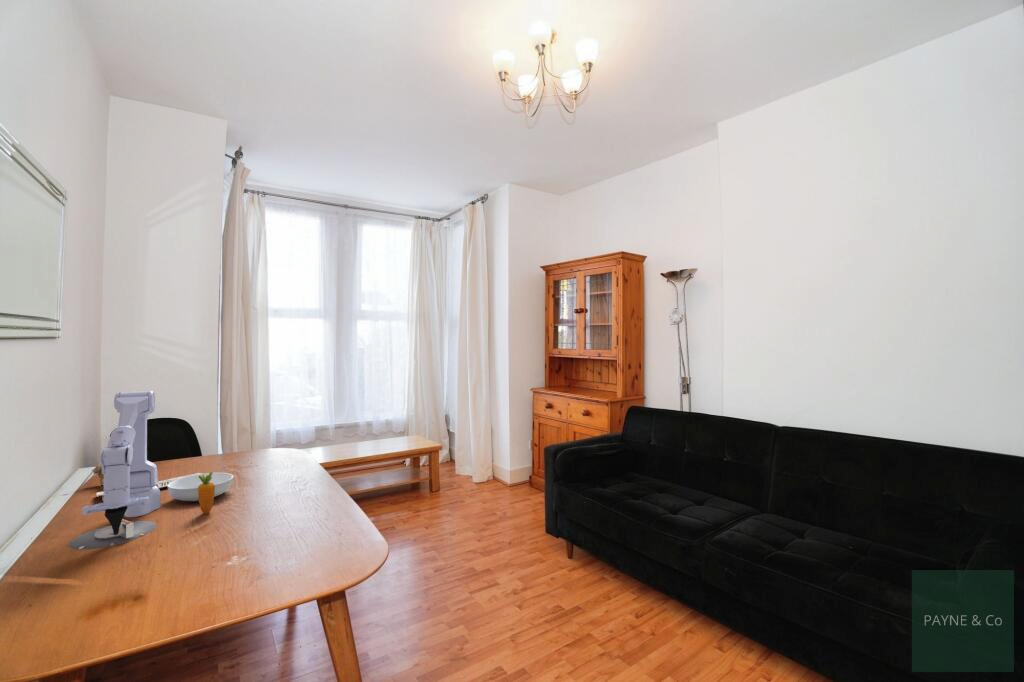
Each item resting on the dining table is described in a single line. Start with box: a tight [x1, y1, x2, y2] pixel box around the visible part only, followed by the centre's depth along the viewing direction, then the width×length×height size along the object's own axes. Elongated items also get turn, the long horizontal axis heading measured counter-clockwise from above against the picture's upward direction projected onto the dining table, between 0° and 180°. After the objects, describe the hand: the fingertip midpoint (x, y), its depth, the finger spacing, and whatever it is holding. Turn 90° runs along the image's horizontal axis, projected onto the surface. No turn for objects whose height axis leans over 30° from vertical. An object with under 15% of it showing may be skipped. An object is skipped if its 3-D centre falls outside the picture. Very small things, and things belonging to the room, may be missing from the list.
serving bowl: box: [167, 472, 234, 502], centre depth 169 cm, size 21×21×7 cm
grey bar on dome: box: [95, 518, 134, 541], centre depth 133 cm, size 14×9×5 cm, turn 64°
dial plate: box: [68, 520, 157, 551], centre depth 134 cm, size 20×20×1 cm
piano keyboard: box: [95, 472, 203, 502], centre depth 180 cm, size 35×12×4 cm, turn 142°
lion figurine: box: [91, 463, 104, 486], centre depth 183 cm, size 15×5×9 cm, turn 64°
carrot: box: [198, 471, 215, 515], centre depth 150 cm, size 5×5×15 cm
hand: (116, 533), depth 129 cm, fingers closed
